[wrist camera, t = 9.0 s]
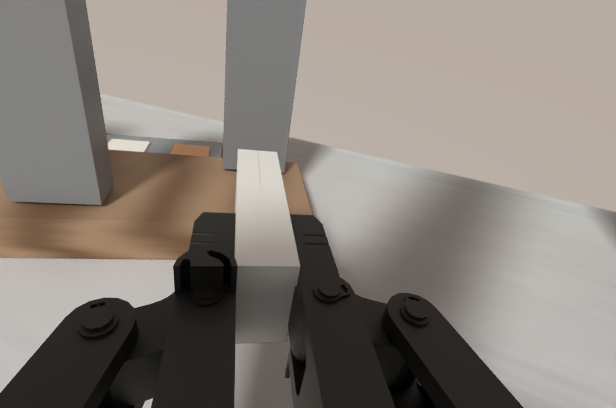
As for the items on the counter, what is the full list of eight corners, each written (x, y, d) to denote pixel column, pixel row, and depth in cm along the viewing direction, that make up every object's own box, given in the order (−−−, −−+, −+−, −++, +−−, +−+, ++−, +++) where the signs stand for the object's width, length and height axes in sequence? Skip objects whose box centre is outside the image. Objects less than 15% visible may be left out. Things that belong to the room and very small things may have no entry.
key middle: (102, 205, 22) (49, -88, 14) (6, 201, 20) (-104, -118, 13) (114, 185, 24) (75, -79, 16) (29, 180, 23) (-55, -104, 15)
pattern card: (222, 148, 39) (222, 141, 39) (218, 177, 34) (218, 169, 33) (40, 134, 36) (38, 126, 35) (1, 164, 30) (-2, 155, 29)
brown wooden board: (293, 191, 33) (297, 162, 32) (309, 260, 25) (316, 227, 24) (-120, 169, 27) (-140, 131, 25) (-284, 254, 18) (-328, 206, 17)
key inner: (284, 172, 29) (311, -29, 22) (222, 168, 28) (227, -46, 21) (281, 159, 31) (304, -28, 24) (223, 155, 30) (229, -43, 23)
